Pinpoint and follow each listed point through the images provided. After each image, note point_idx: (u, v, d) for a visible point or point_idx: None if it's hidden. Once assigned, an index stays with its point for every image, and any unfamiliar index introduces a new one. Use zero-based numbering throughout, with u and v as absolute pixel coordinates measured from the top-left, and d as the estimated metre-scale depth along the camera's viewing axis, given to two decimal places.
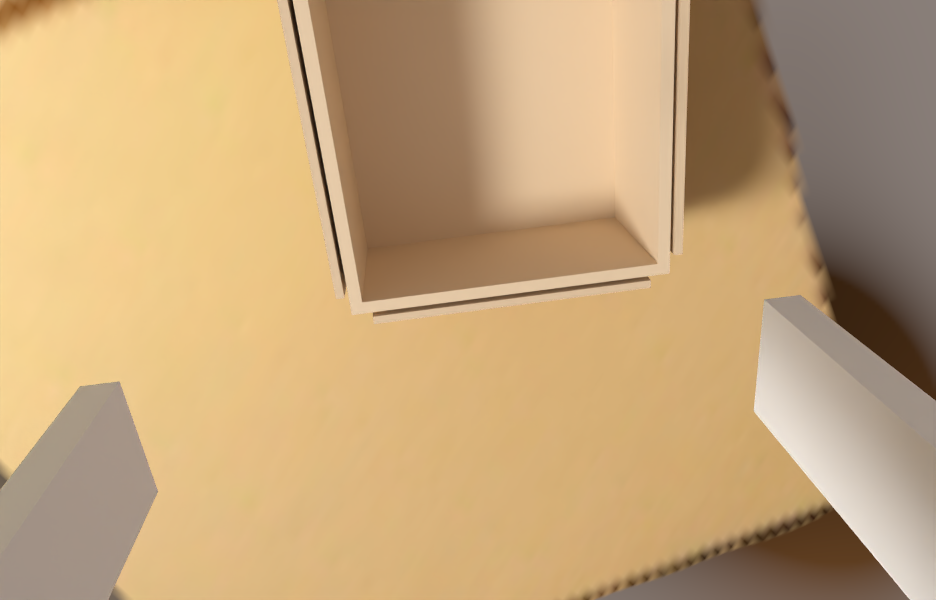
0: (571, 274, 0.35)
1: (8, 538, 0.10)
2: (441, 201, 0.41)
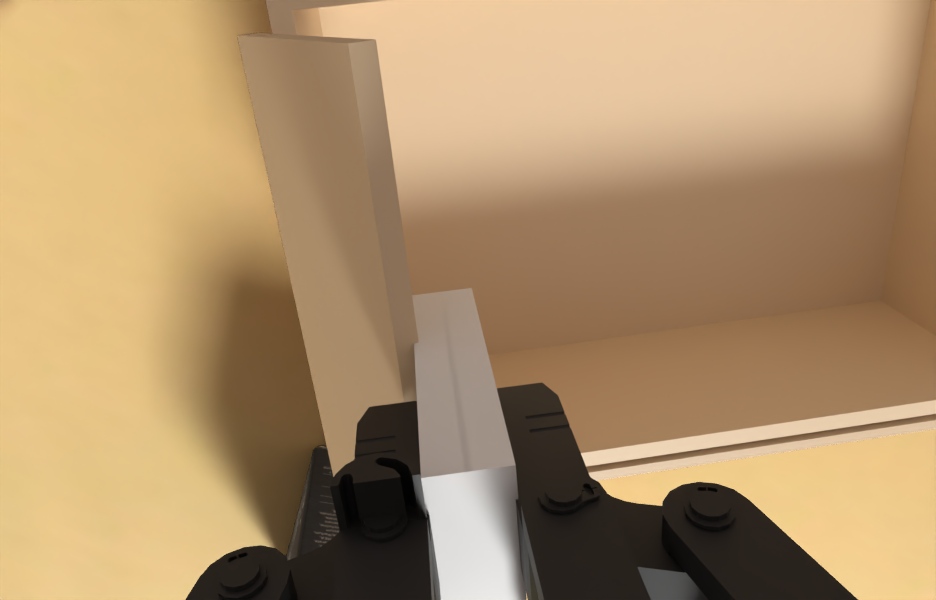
0: None
1: (454, 389, 0.12)
2: (846, 208, 0.30)
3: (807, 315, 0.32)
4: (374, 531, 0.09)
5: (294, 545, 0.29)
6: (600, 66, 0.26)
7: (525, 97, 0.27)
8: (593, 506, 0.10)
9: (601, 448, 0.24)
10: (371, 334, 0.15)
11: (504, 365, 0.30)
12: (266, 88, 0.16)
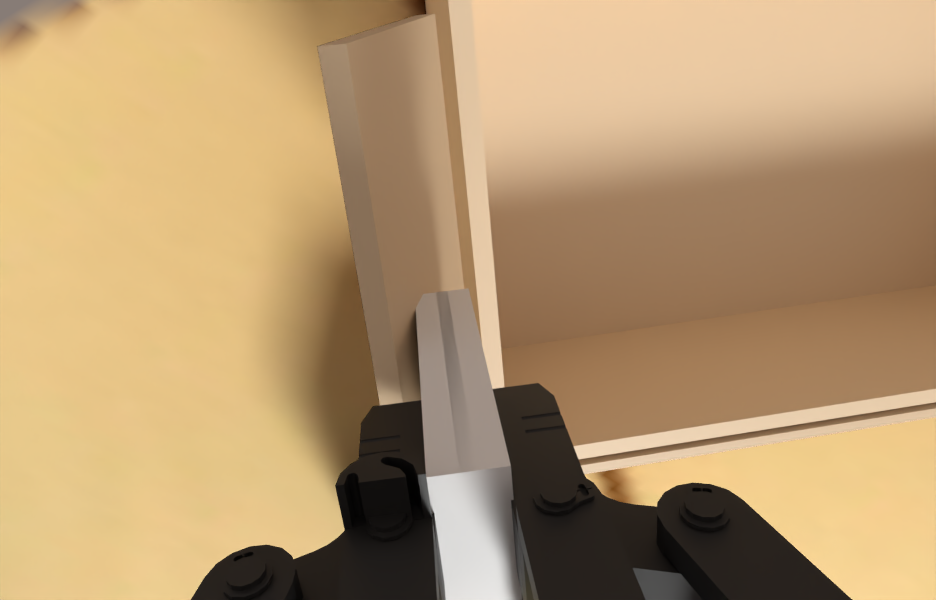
0: None
1: (459, 389, 0.12)
2: (932, 191, 0.31)
3: (891, 296, 0.32)
4: (379, 530, 0.09)
5: None
6: (708, 52, 0.27)
7: (635, 82, 0.27)
8: (588, 507, 0.10)
9: (721, 421, 0.25)
10: None
11: (602, 346, 0.31)
12: None
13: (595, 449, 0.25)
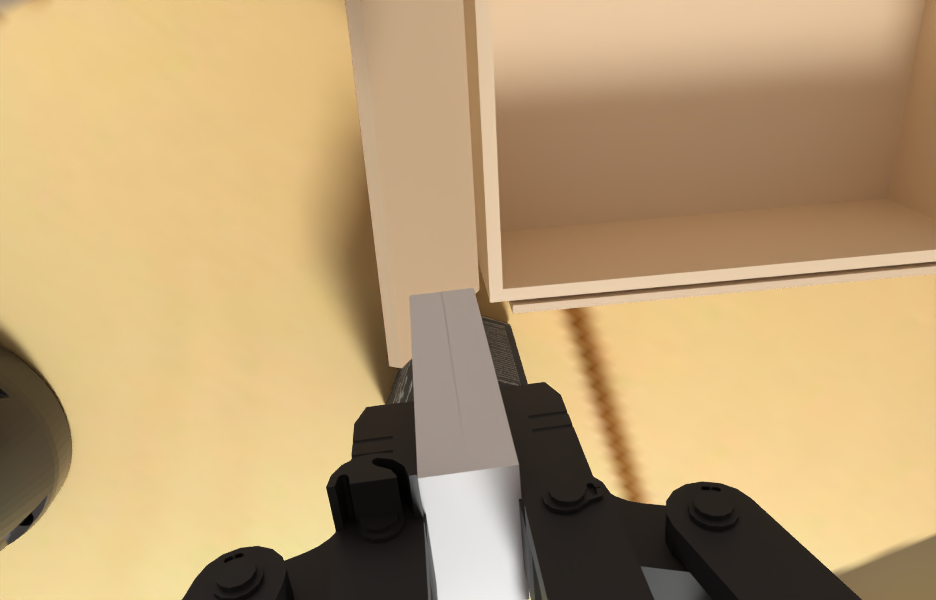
0: None
1: (452, 390, 0.12)
2: (862, 117, 0.38)
3: (827, 206, 0.39)
4: (371, 531, 0.09)
5: None
6: None
7: (617, 10, 0.34)
8: (596, 506, 0.10)
9: (670, 273, 0.32)
10: None
11: (584, 231, 0.38)
12: None
13: (569, 288, 0.32)
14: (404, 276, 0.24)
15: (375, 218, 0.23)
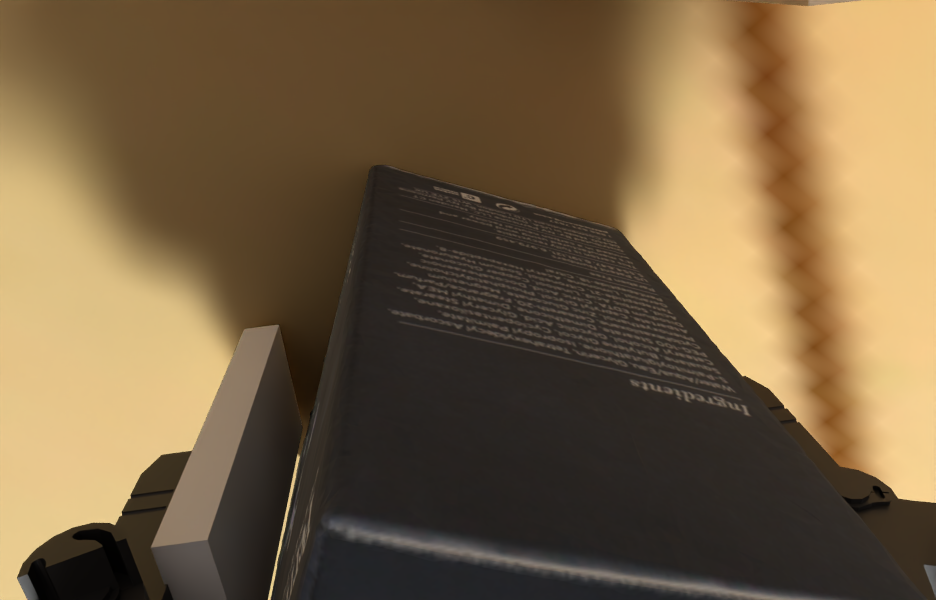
0: None
1: (236, 440, 0.12)
2: None
3: None
4: None
5: (331, 344, 0.11)
6: None
7: None
8: (882, 510, 0.09)
9: None
10: None
11: None
12: None
13: None
14: None
15: None
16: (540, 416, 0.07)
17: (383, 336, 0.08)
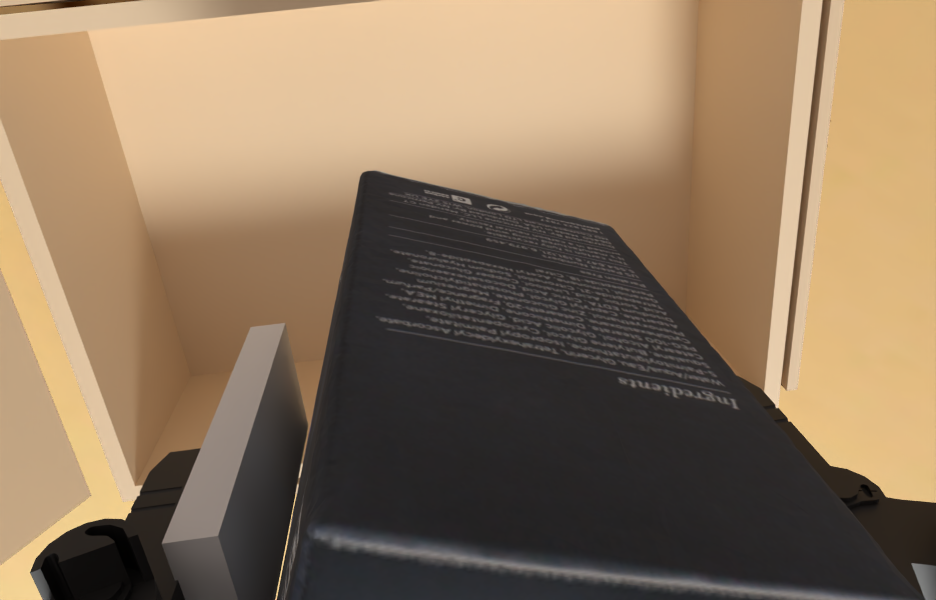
0: (790, 113, 0.22)
1: (244, 437, 0.12)
2: (639, 224, 0.31)
3: None
4: None
5: None
6: (374, 86, 0.27)
7: (303, 116, 0.28)
8: (870, 509, 0.09)
9: None
10: None
11: (306, 372, 0.31)
12: None
13: None
14: None
15: None
16: (527, 419, 0.07)
17: (371, 344, 0.08)
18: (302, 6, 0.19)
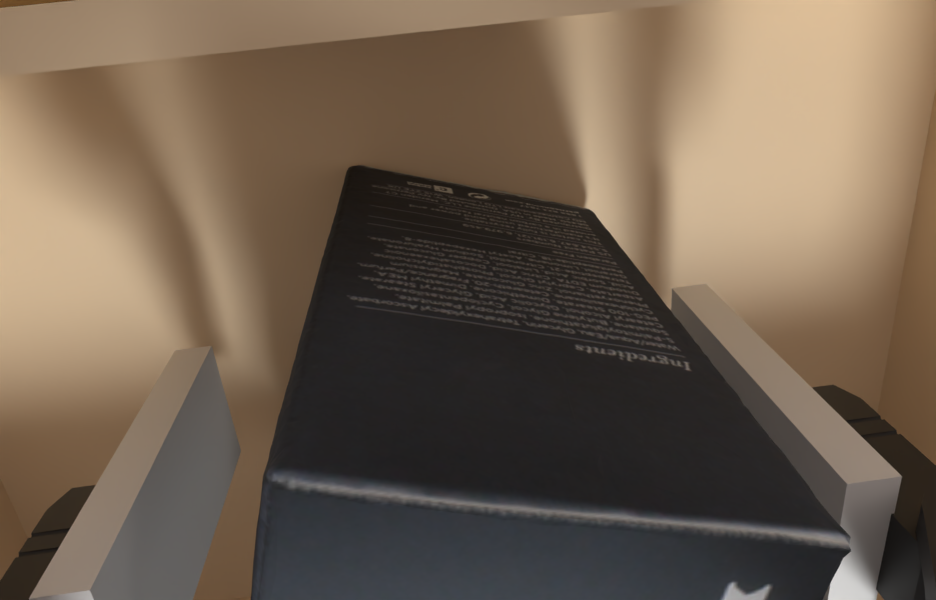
0: None
1: (143, 475, 0.11)
2: None
3: None
4: None
5: None
6: None
7: (234, 224, 0.15)
8: None
9: None
10: None
11: None
12: None
13: None
14: None
15: None
16: (480, 381, 0.08)
17: (339, 319, 0.08)
18: (145, 55, 0.07)
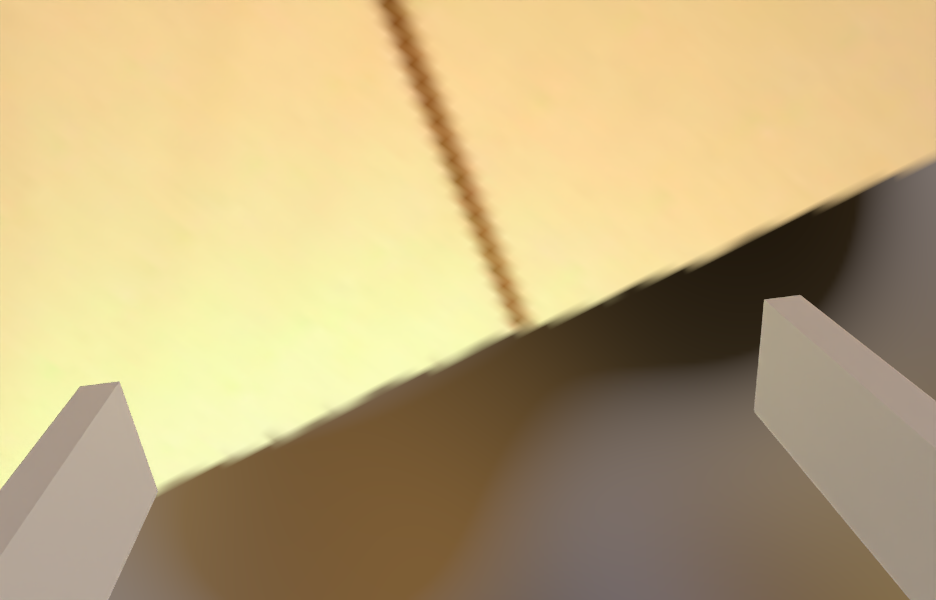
0: None
1: (8, 538, 0.10)
2: None
3: None
4: None
5: None
6: None
7: None
8: None
9: None
10: None
11: None
12: None
13: None
14: None
15: None
16: None
17: None
18: None
